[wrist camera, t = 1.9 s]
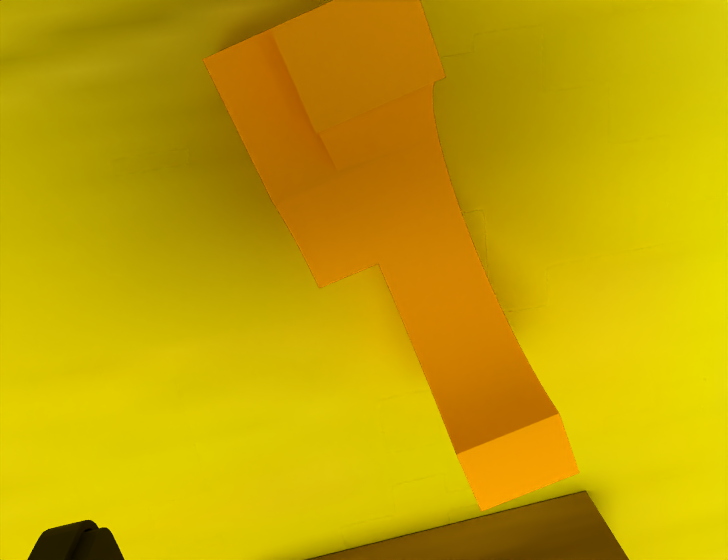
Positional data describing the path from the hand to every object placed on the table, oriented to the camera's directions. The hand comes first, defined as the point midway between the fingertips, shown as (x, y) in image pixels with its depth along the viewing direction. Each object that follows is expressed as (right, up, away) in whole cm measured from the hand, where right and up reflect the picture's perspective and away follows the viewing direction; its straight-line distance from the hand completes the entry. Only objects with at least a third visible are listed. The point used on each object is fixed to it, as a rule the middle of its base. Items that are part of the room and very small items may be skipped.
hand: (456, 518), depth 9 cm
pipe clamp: (-1, +5, +11) cm, 12 cm away
